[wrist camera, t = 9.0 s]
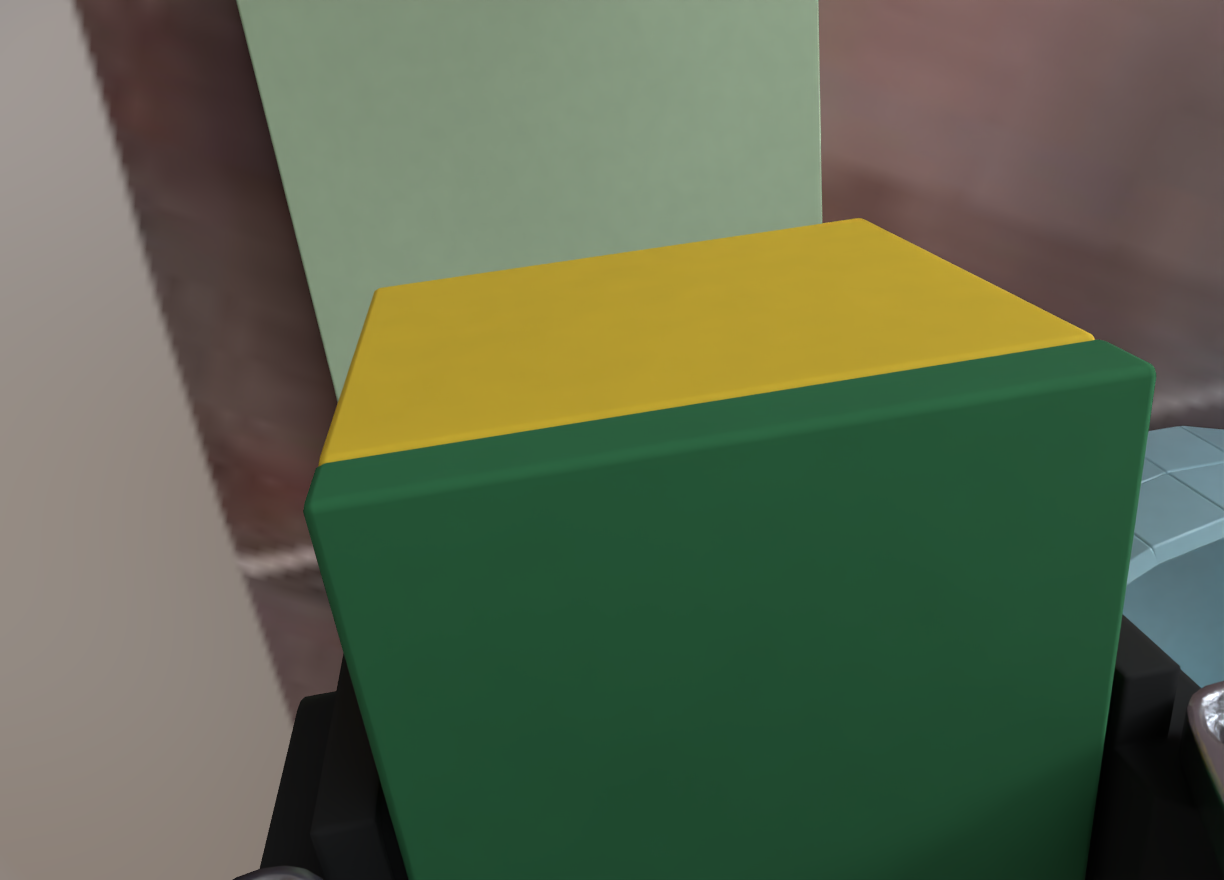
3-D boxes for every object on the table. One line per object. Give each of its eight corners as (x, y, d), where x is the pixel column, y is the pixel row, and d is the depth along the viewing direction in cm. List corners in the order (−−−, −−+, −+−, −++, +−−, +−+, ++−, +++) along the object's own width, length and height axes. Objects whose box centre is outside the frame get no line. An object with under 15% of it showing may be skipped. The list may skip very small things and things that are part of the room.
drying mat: (215, -106, 19) (208, -110, 18) (806, -171, 19) (816, -176, 19) (416, 695, 27) (415, 709, 26) (823, 623, 28) (829, 635, 27)
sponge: (371, 286, 11) (296, 506, 6) (863, 215, 12) (1164, 365, 7) (496, 840, 15) (512, 1253, 10) (863, 768, 15) (1054, 1128, 10)
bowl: (1245, 315, 26) (1411, 378, 21) (1389, 657, 32) (1542, 763, 27) (783, 628, 28) (845, 747, 23) (1002, 892, 34) (1084, 1027, 29)
